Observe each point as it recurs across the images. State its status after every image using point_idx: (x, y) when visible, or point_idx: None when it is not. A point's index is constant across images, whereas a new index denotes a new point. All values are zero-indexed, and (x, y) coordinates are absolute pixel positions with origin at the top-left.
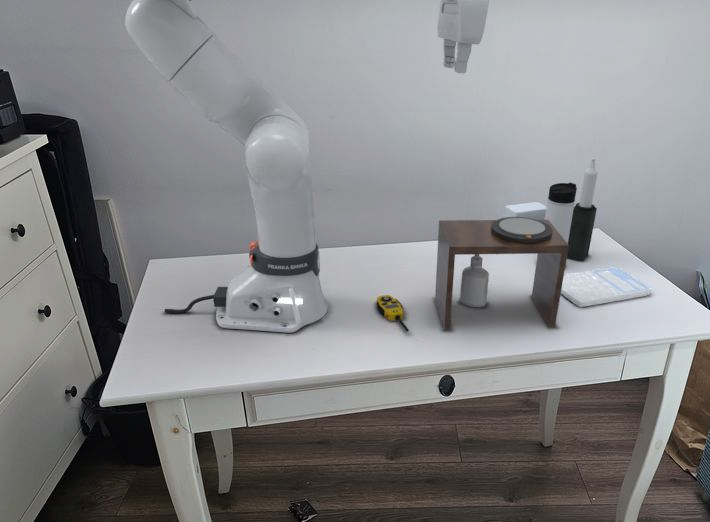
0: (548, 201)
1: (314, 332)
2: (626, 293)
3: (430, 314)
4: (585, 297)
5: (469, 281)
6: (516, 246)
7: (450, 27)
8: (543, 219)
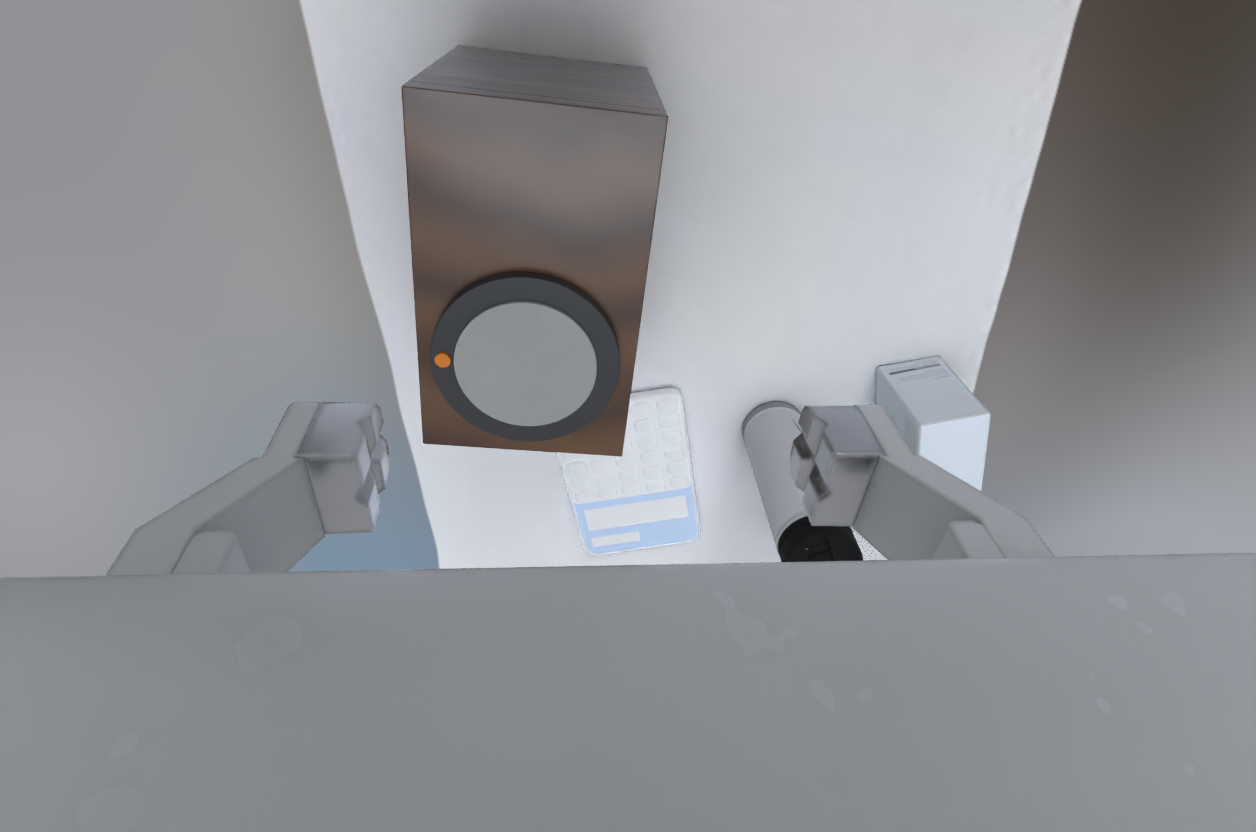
0: None
1: None
2: (573, 508)
3: (554, 27)
4: None
5: None
6: (415, 310)
7: (443, 695)
8: None
